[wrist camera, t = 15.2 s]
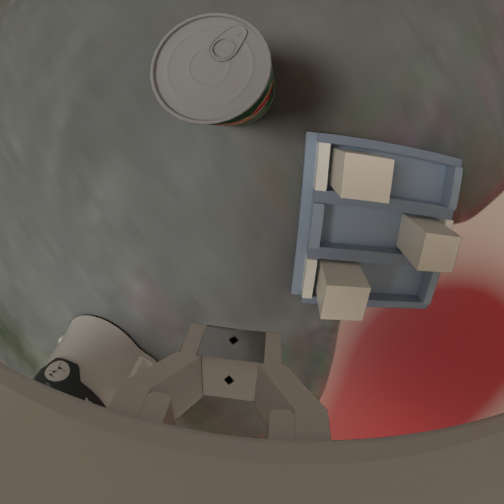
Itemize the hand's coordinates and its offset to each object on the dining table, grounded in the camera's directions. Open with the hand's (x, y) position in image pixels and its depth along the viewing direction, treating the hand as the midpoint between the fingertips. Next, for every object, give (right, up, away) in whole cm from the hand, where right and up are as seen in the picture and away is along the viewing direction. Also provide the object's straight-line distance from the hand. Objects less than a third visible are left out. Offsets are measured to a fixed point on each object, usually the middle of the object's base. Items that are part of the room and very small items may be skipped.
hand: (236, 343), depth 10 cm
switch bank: (+14, +6, +20) cm, 25 cm away
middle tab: (+18, +5, +18) cm, 26 cm away
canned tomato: (-1, +19, +16) cm, 25 cm away
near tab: (+10, +11, +17) cm, 22 cm away
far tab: (+9, +1, +21) cm, 23 cm away
